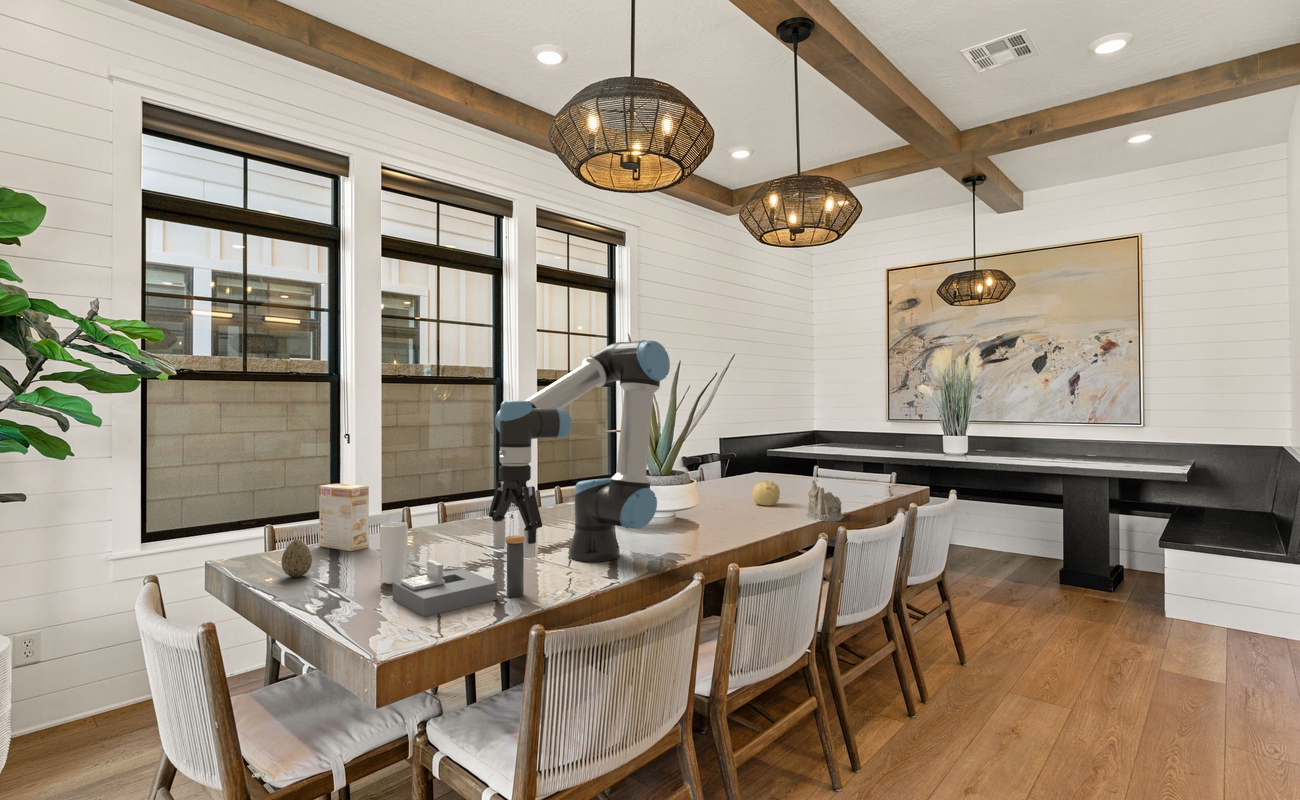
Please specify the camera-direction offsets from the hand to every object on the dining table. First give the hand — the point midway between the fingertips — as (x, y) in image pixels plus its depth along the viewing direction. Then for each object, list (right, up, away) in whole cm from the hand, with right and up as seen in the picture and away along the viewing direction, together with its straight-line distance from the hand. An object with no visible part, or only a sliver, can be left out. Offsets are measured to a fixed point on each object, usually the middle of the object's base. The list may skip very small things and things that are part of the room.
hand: (513, 552), depth 160 cm
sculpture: (+84, -10, +130) cm, 155 cm away
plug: (0, -11, 0) cm, 11 cm away
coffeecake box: (-64, -10, +50) cm, 82 cm away
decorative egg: (-61, -10, +16) cm, 64 cm away
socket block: (-16, -11, -3) cm, 19 cm away
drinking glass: (-33, -11, +11) cm, 37 cm away
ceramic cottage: (+103, -10, +101) cm, 145 cm away
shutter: (-20, -6, -5) cm, 22 cm away
